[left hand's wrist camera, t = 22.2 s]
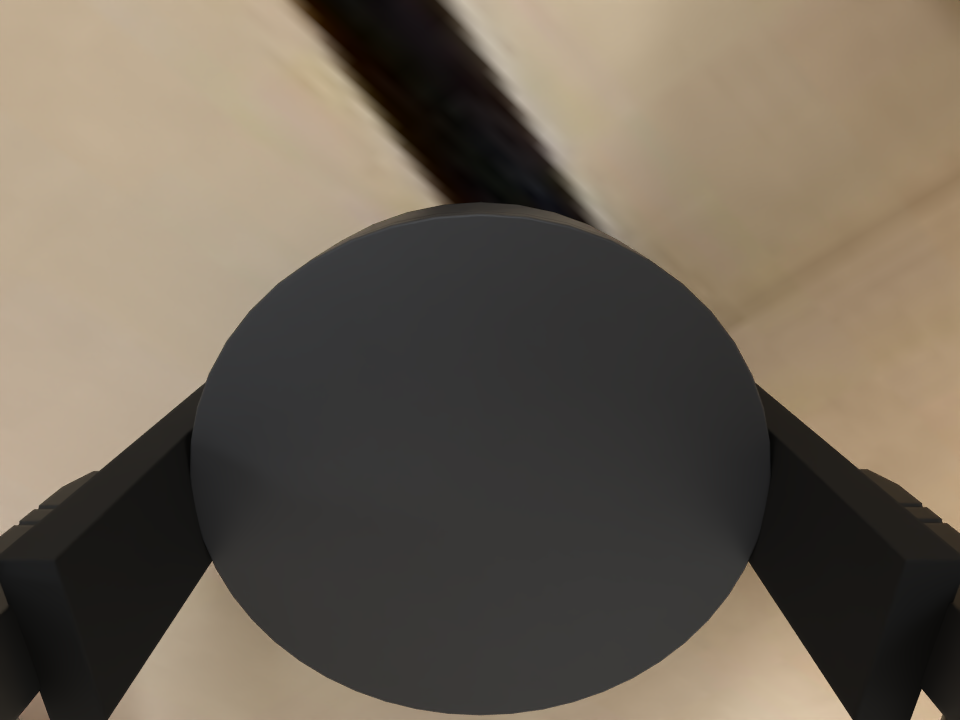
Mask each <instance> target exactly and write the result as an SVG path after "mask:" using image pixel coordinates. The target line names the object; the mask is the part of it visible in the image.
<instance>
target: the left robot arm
mask: <svg viewBox="0 0 960 720" xmlns="http://www.w3.org/2000/svg"><path fill="white" fill-rule="evenodd" d="M205 384H206V383H204V384H203V385H202V386H201V387H200V388H198V389H197V390H196V391H195V392H194V393H192V394H191V395H190V396H189V397H188V398H186V399H185V400H184V401H183V402H182V403H180V404H179V405H178V406H177V407H176V408H174V409H173V410H172V411H171V412H170V413H168V414H167V415H166V416H165V417H164V418H162V419H161V420H160V421H159V422H158V423H156V424H155V425H154V426H153V427H152V428H150V429H149V430H148V431H147V432H146V433H144V434H143V435H142V436H141V437H140V438H138V439H137V440H136V441H135V442H134V443H132V444H131V445H130V446H129V447H128V448H126V449H125V450H124V451H123V452H122V453H120V454H119V455H118V456H117V457H116V458H114V459H113V460H112V461H111V462H110V463H108V464H107V465H106V466H105V467H104V468H102V469H101V470H100V471H93V472H91V473H89V474H87V475H85V476H83V477H81V478H79V479H77V480H75V481H73V482H71V483H69V484H67V485H65V486H63V487H62V488H60V489H59V490H58V491H57V492H55V493H54V494H53V495H52V496H50V497H49V498H48V499H47V500H45V501H44V502H43V503H42V504H40V505H39V509H34V510H33V511H32V512H30V513H29V514H28V515H27V516H25V517H24V518H23V519H22V520H20V521H19V525H14V526H13V527H12V528H10V529H9V530H8V531H7V532H5V533H4V534H3V535H2V536H0V720H19V715H20V714H21V713H22V712H23V710H24V709H25V708H26V707H27V706H28V704H29V703H30V702H31V701H32V699H33V698H34V697H35V696H36V695H37V693H38V692H39V691H40V693H41V696H42V699H43V702H44V704H45V707H46V710H47V713H48V715H49V718H50V720H108V718H109V717H110V715H111V714H112V712H113V711H114V709H115V708H116V706H117V705H118V703H119V702H120V700H121V699H122V697H123V696H124V694H125V693H126V691H127V690H128V688H129V687H130V685H131V683H132V682H133V680H134V679H135V677H136V676H137V674H138V673H139V671H140V670H141V668H142V667H143V665H144V664H145V662H146V661H147V659H148V658H149V656H150V655H151V653H152V652H153V650H154V649H155V647H156V645H157V644H158V642H159V641H160V639H161V638H162V636H163V635H164V633H165V632H166V630H167V629H168V627H169V626H170V624H171V623H172V621H173V620H174V618H175V617H176V615H177V614H178V612H179V611H180V609H181V607H182V606H183V604H184V603H185V601H186V600H187V598H188V597H189V595H190V594H191V592H192V591H193V589H194V588H195V586H196V585H197V583H198V582H199V580H200V579H201V577H202V576H203V574H204V572H205V571H206V569H207V568H208V566H209V565H210V563H211V562H212V559H211V556H210V554H209V552H208V550H207V547H206V545H205V543H204V541H203V538H202V535H201V531H200V526H199V522H198V517H197V513H196V508H195V503H194V497H193V492H192V487H191V480H190V454H191V438H192V432H193V427H194V422H195V416H196V411H197V406H198V403H199V401H200V398H201V395H202V392H203V389H204V387H205ZM755 385H756V387H757V390H758V393H759V396H760V399H761V402H762V405H763V407H764V412H765V418H766V423H767V429H768V434H769V440H770V464H771V479H770V485H769V491H768V496H767V501H766V507H765V512H764V516H763V521H762V525H761V529H760V534H759V537H758V540H757V543H756V545H755V547H754V549H753V552H752V554H751V556H750V558H749V563H750V564H751V566H752V567H753V569H754V570H755V572H756V573H757V575H758V576H759V578H760V580H761V581H762V583H763V584H764V586H765V587H766V589H767V590H768V592H769V593H770V595H771V596H772V598H773V599H774V601H775V602H776V604H777V605H778V607H779V608H780V610H781V611H782V613H783V614H784V616H785V618H786V619H787V621H788V622H789V624H790V625H791V627H792V628H793V630H794V631H795V633H796V634H797V636H798V637H799V639H800V640H801V642H802V643H803V645H804V646H805V648H806V649H807V651H808V653H809V654H810V656H811V657H812V659H813V660H814V662H815V663H816V665H817V666H818V668H819V669H820V671H821V672H822V674H823V675H824V677H825V678H826V680H827V681H828V683H829V684H830V686H831V687H832V689H833V691H834V692H835V694H836V695H837V697H838V698H839V700H840V701H841V703H842V704H843V706H844V707H845V709H846V710H847V712H848V713H849V715H850V716H851V718H852V719H853V720H910V719H911V717H912V714H913V711H914V708H915V706H916V703H917V700H918V697H919V695H920V692H921V689H922V690H923V691H924V692H925V693H926V695H927V696H928V697H929V698H930V699H931V701H932V702H933V703H934V704H935V705H936V707H937V708H938V709H939V710H940V711H941V713H942V714H943V715H942V717H941V720H960V533H959V532H957V531H956V530H955V529H954V528H952V527H951V526H950V525H949V524H947V523H942V519H941V518H940V517H939V516H937V515H936V514H935V513H933V512H932V511H931V510H930V509H928V508H927V507H923V506H922V503H921V502H920V501H918V500H917V499H916V498H915V497H913V496H912V495H911V494H909V493H908V492H907V491H906V490H904V489H903V488H902V487H901V486H899V485H898V484H896V483H894V482H892V481H890V480H888V479H886V478H884V477H882V476H880V475H878V474H876V473H874V472H872V471H870V470H868V469H858V468H857V467H856V466H854V465H853V464H852V463H851V462H850V461H848V460H847V459H846V458H845V457H844V456H842V455H841V454H840V453H839V452H838V451H836V450H835V449H834V448H833V447H832V446H830V445H829V444H828V443H827V442H826V441H824V440H823V439H822V438H821V437H820V436H818V435H817V434H816V433H815V432H814V431H812V430H811V429H810V428H809V427H808V426H806V425H805V424H804V423H803V422H802V421H800V420H799V419H798V418H797V417H796V416H794V415H793V414H792V413H791V412H790V411H788V410H787V409H786V408H785V407H784V406H782V405H781V404H780V403H779V402H778V401H776V400H775V399H774V398H773V397H772V396H770V395H769V394H768V393H767V392H766V391H764V390H763V389H762V388H761V387H760V386H758V385H757V384H756V383H755Z"/></svg>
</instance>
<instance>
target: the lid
mask: <svg viewBox="0 0 960 720" xmlns="http://www.w3.org/2000/svg"><path fill="white" fill-rule="evenodd" d="M770 479H771V464H770V440H769V434H768V429H767V423H766V418H765V412H764V407H763V405H762V402H761V399H760V396H759V393H758V390H757V387H756V385H755V382H754V379H753V376H752V374H751V372H750V370H749V368H748V366H747V364H746V363H745V361H744V359H743V357H742V355H741V353H740V351H739V350H738V348H737V346H736V344H735V342H734V341H733V339H732V338H731V337H730V336H729V334H728V333H727V332H726V330H725V329H724V328H723V326H722V325H721V324H720V322H719V321H718V320H717V318H716V317H715V316H714V314H713V313H712V312H711V311H710V310H709V309H708V308H707V307H706V306H705V305H704V304H703V303H702V302H701V301H700V300H699V299H698V298H697V297H696V296H695V295H694V294H693V293H692V292H691V291H690V290H689V289H688V288H687V287H686V286H685V285H683V284H682V283H681V282H680V281H678V280H677V279H675V278H674V277H673V276H671V275H670V274H668V273H667V272H666V271H664V270H663V269H661V268H660V267H659V266H657V265H656V264H655V263H653V262H652V261H650V260H649V259H647V258H646V257H644V256H643V255H641V254H639V253H638V252H636V251H635V250H633V249H631V248H630V247H628V246H627V245H625V244H623V243H622V242H620V241H618V240H617V239H615V238H613V237H611V236H609V235H607V234H605V233H603V232H601V231H599V230H597V229H595V228H594V227H592V226H590V225H588V224H585V223H582V222H579V221H576V220H574V219H571V218H568V217H565V216H562V215H560V214H557V213H554V212H549V211H544V210H540V209H535V208H530V207H525V206H520V205H511V204H497V203H482V202H479V203H464V204H449V205H440V206H436V207H431V208H426V209H421V210H416V211H411V212H407V213H404V214H401V215H398V216H395V217H393V218H390V219H387V220H384V221H381V222H378V223H376V224H373V225H371V226H369V227H367V228H365V229H363V230H361V231H359V232H358V233H356V234H354V235H352V236H350V237H348V238H346V239H344V240H342V241H340V242H339V243H337V244H336V245H334V246H332V247H331V248H329V249H328V250H326V251H324V252H323V253H321V254H320V255H318V256H316V257H315V258H313V259H312V260H310V261H309V262H308V263H306V264H305V265H303V266H302V267H301V268H299V269H298V270H296V271H295V272H294V273H292V274H291V275H289V276H288V277H287V278H285V279H284V280H282V281H281V282H280V283H278V284H277V285H276V286H275V287H274V288H273V289H272V290H271V291H270V292H269V293H268V294H267V295H266V296H265V297H264V298H263V299H262V300H261V301H260V302H259V303H258V304H256V305H255V306H254V307H253V308H252V309H251V310H250V311H249V313H248V314H247V315H246V317H245V318H244V319H243V321H242V322H241V323H240V324H239V326H238V327H237V328H236V330H235V331H234V332H233V334H232V335H231V336H230V338H229V339H228V340H227V342H226V343H225V345H224V347H223V349H222V351H221V353H220V354H219V356H218V358H217V360H216V362H215V364H214V366H213V367H212V369H211V371H210V373H209V375H208V378H207V381H206V384H205V387H204V389H203V392H202V395H201V398H200V401H199V403H198V406H197V411H196V416H195V422H194V427H193V432H192V438H191V454H190V480H191V487H192V492H193V497H194V503H195V508H196V513H197V517H198V522H199V526H200V531H201V535H202V538H203V541H204V543H205V545H206V547H207V550H208V552H209V554H210V556H211V559H212V561H213V563H214V566H215V568H216V570H217V571H218V573H219V574H220V576H221V578H222V579H223V581H224V583H225V584H226V586H227V587H228V589H229V591H230V592H231V594H232V595H233V597H234V598H235V599H236V600H237V602H238V603H239V604H240V605H241V607H242V608H243V609H244V610H245V612H246V613H247V614H248V615H249V617H250V618H251V619H252V620H253V621H254V622H255V623H256V624H257V625H258V626H259V627H260V628H261V629H262V630H263V631H264V632H265V633H266V634H267V635H268V636H269V637H270V638H271V639H272V640H274V641H275V642H276V643H277V644H278V645H280V646H281V647H282V648H284V649H285V650H286V651H288V652H289V653H290V654H291V655H293V656H294V657H295V658H297V659H298V660H299V661H301V662H302V663H304V664H306V665H307V666H309V667H311V668H312V669H314V670H316V671H317V672H319V673H320V674H322V675H324V676H325V677H327V678H329V679H331V680H334V681H336V682H338V683H340V684H342V685H344V686H346V687H348V688H350V689H353V690H355V691H357V692H360V693H363V694H366V695H369V696H371V697H374V698H377V699H380V700H383V701H386V702H390V703H394V704H398V705H402V706H406V707H410V708H414V709H420V710H426V711H433V712H440V713H447V714H466V715H495V714H514V713H521V712H528V711H535V710H542V709H547V708H551V707H555V706H559V705H563V704H567V703H571V702H575V701H578V700H581V699H584V698H587V697H590V696H592V695H595V694H598V693H601V692H604V691H606V690H608V689H610V688H613V687H615V686H617V685H619V684H621V683H623V682H625V681H628V680H630V679H632V678H634V677H635V676H637V675H639V674H640V673H642V672H644V671H645V670H647V669H649V668H650V667H652V666H654V665H655V664H657V663H659V662H660V661H662V660H663V659H664V658H666V657H667V656H668V655H670V654H671V653H672V652H673V651H675V650H676V649H677V648H679V647H680V646H681V645H683V644H684V643H685V642H686V641H687V640H688V639H689V638H690V637H691V636H693V635H694V634H695V633H696V632H697V631H698V630H699V629H700V628H701V627H702V626H703V625H704V624H705V623H706V622H707V621H708V620H709V619H710V618H711V616H712V615H713V614H714V613H715V611H716V610H717V609H718V608H719V606H720V605H721V604H722V603H723V602H724V600H725V599H726V598H727V597H728V595H729V594H730V592H731V590H732V589H733V587H734V586H735V584H736V582H737V581H738V579H739V577H740V576H741V574H742V573H743V571H744V569H745V567H746V565H747V563H748V561H749V558H750V556H751V554H752V552H753V549H754V547H755V545H756V543H757V540H758V537H759V534H760V529H761V525H762V521H763V516H764V512H765V507H766V501H767V496H768V491H769V485H770Z"/></svg>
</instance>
